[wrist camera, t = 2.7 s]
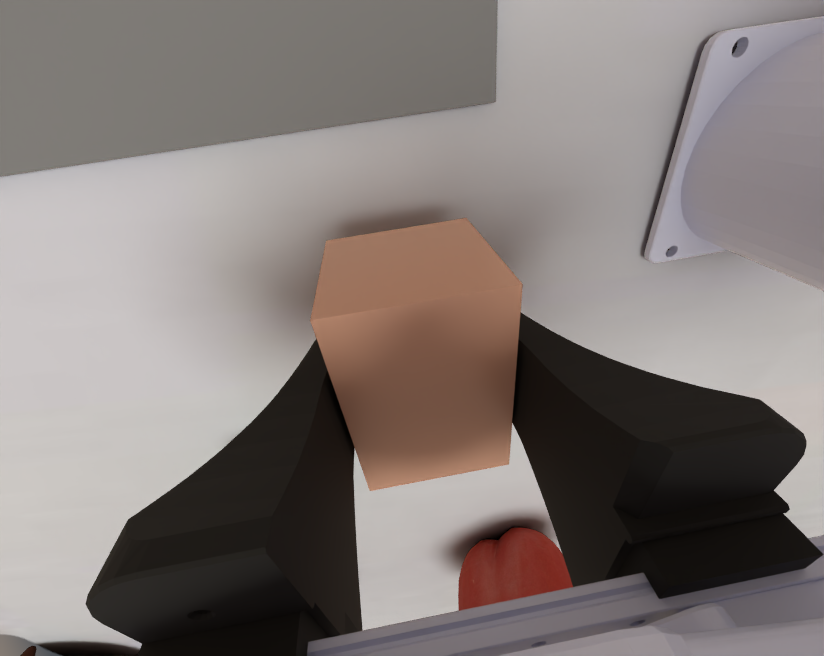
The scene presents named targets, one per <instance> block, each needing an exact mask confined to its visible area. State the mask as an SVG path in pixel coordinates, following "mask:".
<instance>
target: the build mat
mask: <svg viewBox="0 0 824 656" xmlns="http://www.w3.org/2000/svg"><path fill="white" fill-rule="evenodd" d="M496 53H497V0H0V176H7V175H14V174H20V173H27V172H33V171H40V170H47V169H53V168H60V167H67V166H73V165H80V164H87V163H93V162H100V161H107V160H113V159H120V158H127V157H133V156H140V155H147V154H153V153H160V152H167V151H173V150H180V149H187V148H193V147H200V146H206V145H213V144H220V143H226V142H233V141H240V140H246V139H253V138H260V137H266V136H273V135H280V134H286V133H293V132H300V131H306V130H313V129H320V128H326V127H333V126H340V125H346V124H353V123H359V122H366V121H373V120H379V119H386V118H393V117H399V116H406V115H413V114H419V113H426V112H433V111H439V110H446V109H453V108H459V107H466V106H473V105H479V104H486V103H493V102H496Z"/></svg>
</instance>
